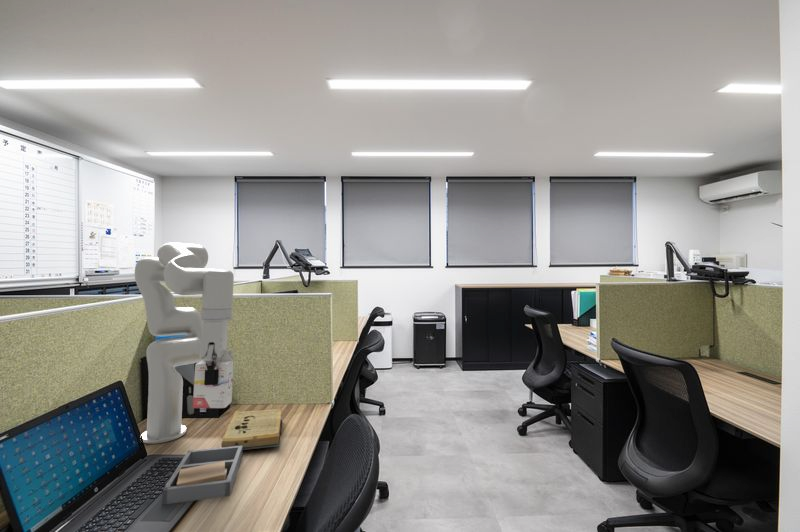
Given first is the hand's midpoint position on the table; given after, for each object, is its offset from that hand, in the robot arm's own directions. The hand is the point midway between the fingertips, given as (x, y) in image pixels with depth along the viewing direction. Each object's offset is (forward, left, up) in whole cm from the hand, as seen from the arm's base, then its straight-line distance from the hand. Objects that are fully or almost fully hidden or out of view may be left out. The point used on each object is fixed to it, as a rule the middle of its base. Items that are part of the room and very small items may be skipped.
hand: (214, 380), depth 98 cm
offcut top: (+9, 0, -21) cm, 23 cm away
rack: (+5, 0, -24) cm, 25 cm away
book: (-18, +9, -25) cm, 32 cm away
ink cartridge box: (0, 0, -7) cm, 7 cm away
